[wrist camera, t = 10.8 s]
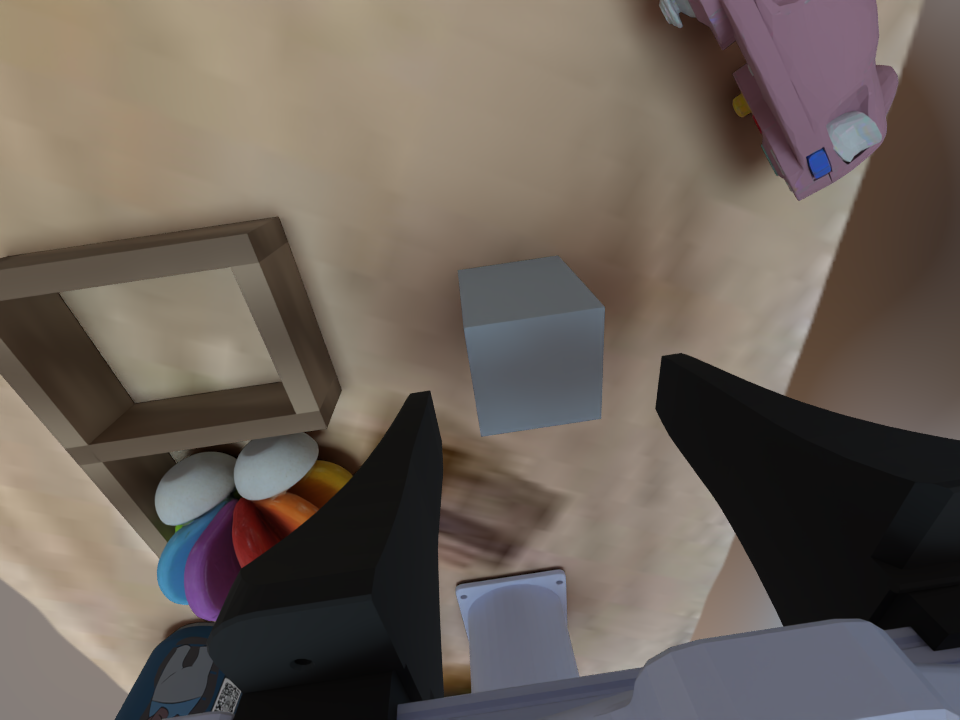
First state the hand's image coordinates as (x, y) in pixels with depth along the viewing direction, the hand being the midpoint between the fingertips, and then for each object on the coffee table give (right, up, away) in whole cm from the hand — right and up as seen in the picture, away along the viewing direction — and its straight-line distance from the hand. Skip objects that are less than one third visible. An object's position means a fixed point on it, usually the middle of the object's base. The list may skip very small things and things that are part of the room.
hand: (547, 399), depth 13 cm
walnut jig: (-14, -3, +9) cm, 17 cm away
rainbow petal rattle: (-14, -6, +11) cm, 18 cm away
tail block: (-1, +4, +6) cm, 7 cm away
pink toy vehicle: (+7, +13, +2) cm, 15 cm away
